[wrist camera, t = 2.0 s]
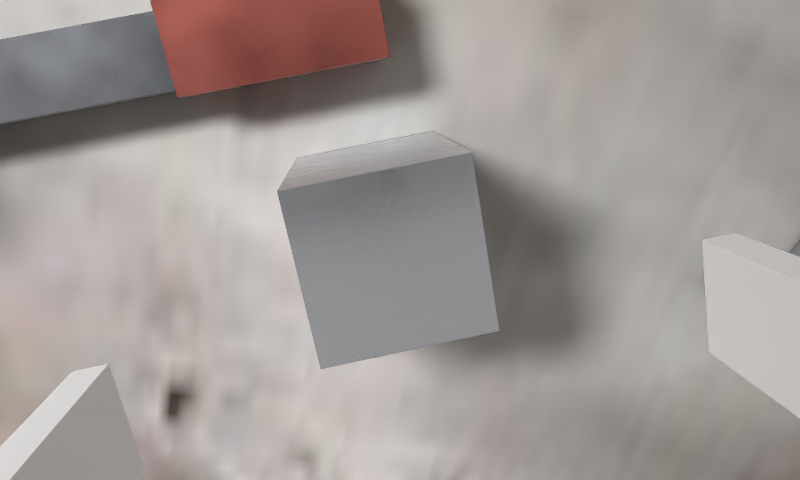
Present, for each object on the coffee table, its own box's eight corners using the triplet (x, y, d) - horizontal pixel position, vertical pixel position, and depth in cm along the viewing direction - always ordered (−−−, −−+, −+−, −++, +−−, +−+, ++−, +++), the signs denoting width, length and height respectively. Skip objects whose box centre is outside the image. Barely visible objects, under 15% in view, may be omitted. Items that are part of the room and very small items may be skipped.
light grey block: (296, 158, 26) (277, 191, 18) (433, 131, 26) (472, 152, 18) (326, 288, 27) (320, 368, 20) (455, 261, 28) (499, 331, 20)
